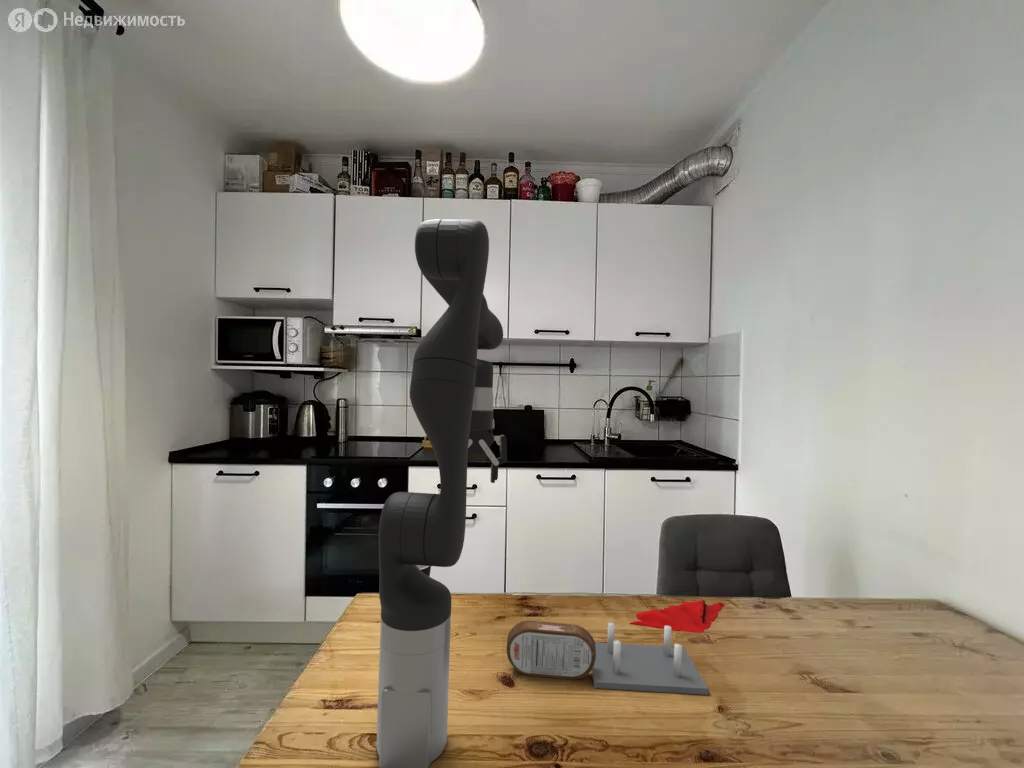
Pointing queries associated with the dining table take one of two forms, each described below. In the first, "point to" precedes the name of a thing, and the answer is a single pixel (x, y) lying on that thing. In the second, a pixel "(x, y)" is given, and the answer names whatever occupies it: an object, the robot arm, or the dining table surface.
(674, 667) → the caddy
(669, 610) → the cloth
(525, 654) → the tin
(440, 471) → the robot arm
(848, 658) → the dining table surface
